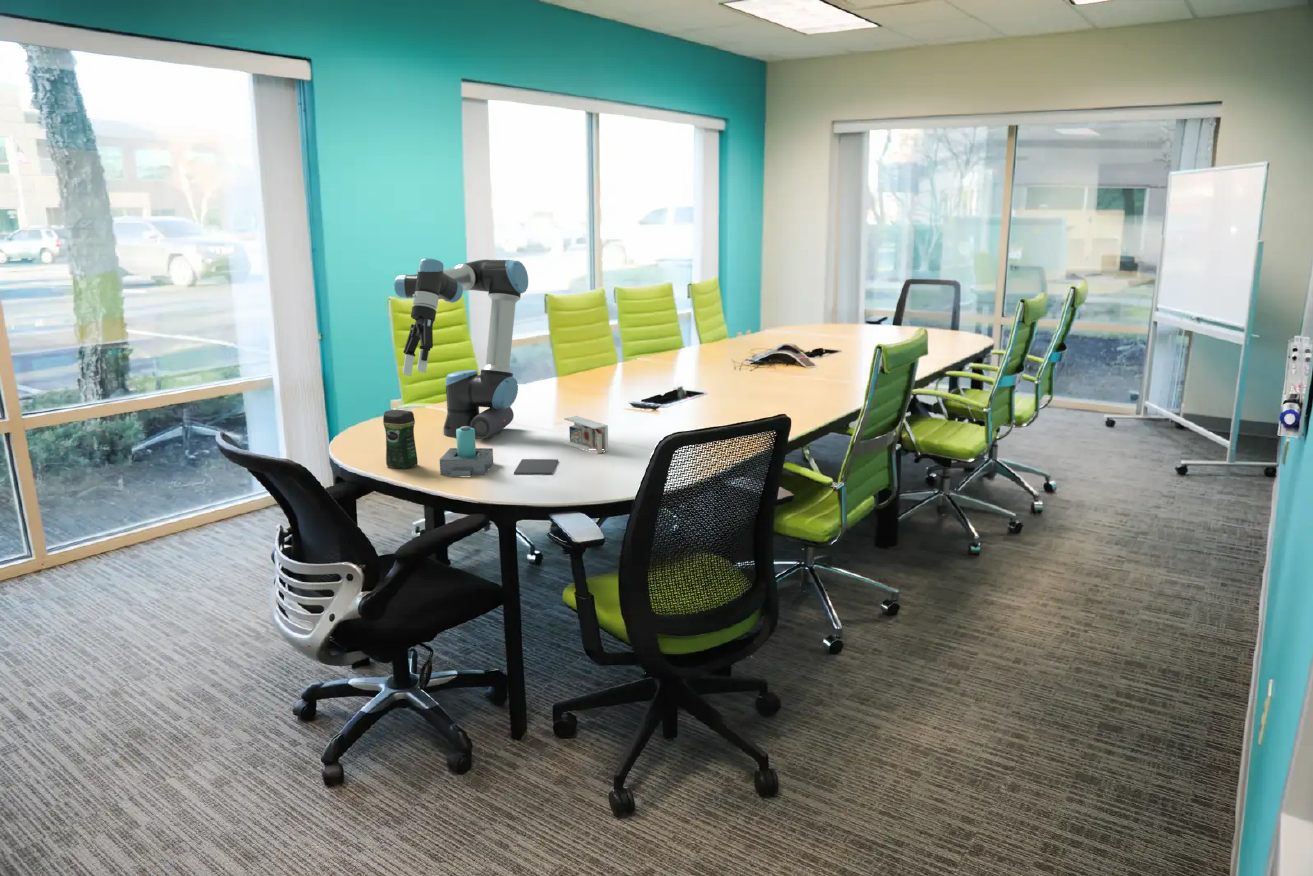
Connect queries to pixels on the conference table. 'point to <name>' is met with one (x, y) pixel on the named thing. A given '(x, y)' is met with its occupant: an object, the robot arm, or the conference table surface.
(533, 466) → the mat
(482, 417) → the bluetooth speaker
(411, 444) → the coffee jar
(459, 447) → the teal cylinder
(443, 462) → the housing
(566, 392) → the conference table surface
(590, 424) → the cigarette display
